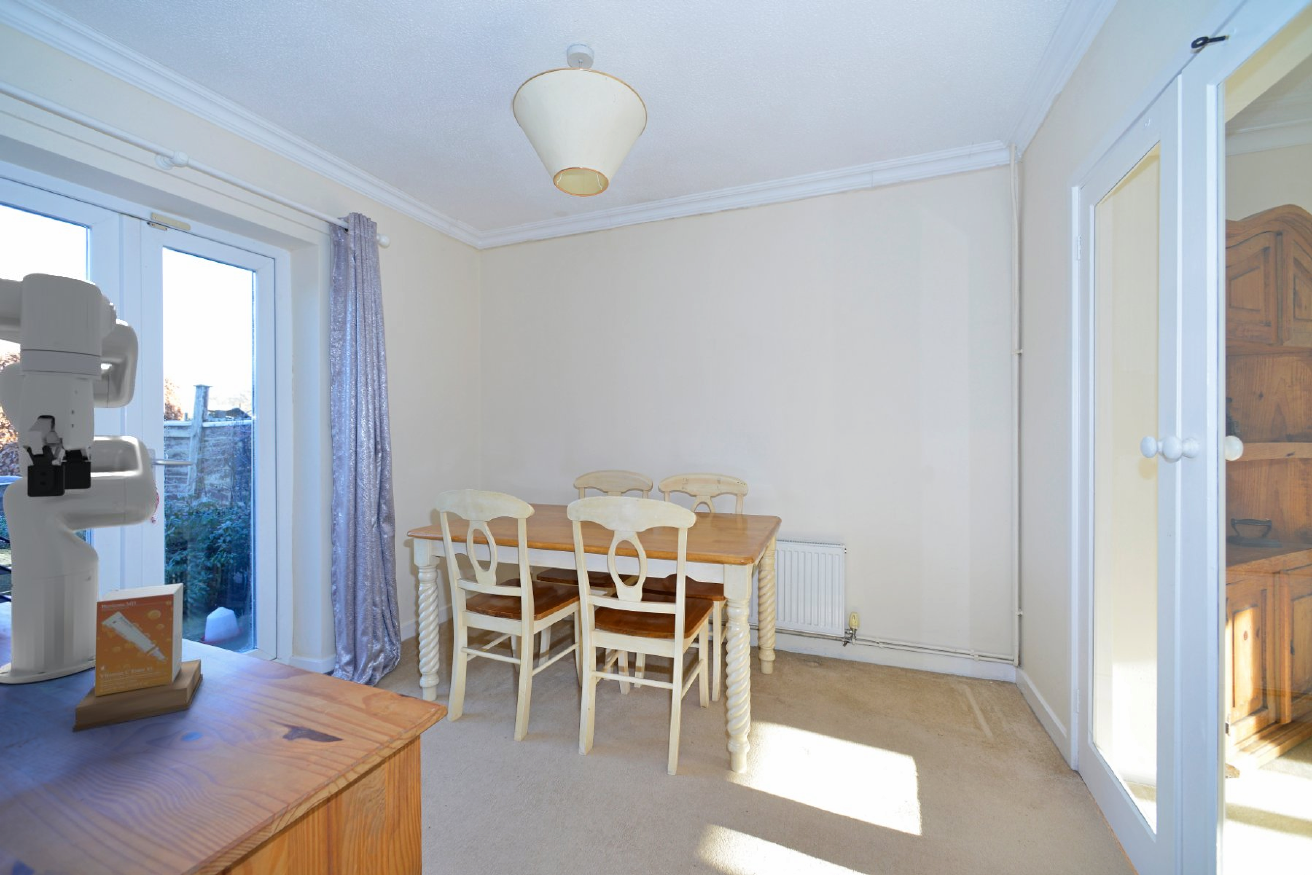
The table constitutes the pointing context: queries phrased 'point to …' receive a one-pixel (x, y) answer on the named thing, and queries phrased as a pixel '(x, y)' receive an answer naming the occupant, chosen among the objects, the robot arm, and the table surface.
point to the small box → (138, 638)
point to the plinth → (139, 700)
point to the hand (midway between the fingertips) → (61, 492)
